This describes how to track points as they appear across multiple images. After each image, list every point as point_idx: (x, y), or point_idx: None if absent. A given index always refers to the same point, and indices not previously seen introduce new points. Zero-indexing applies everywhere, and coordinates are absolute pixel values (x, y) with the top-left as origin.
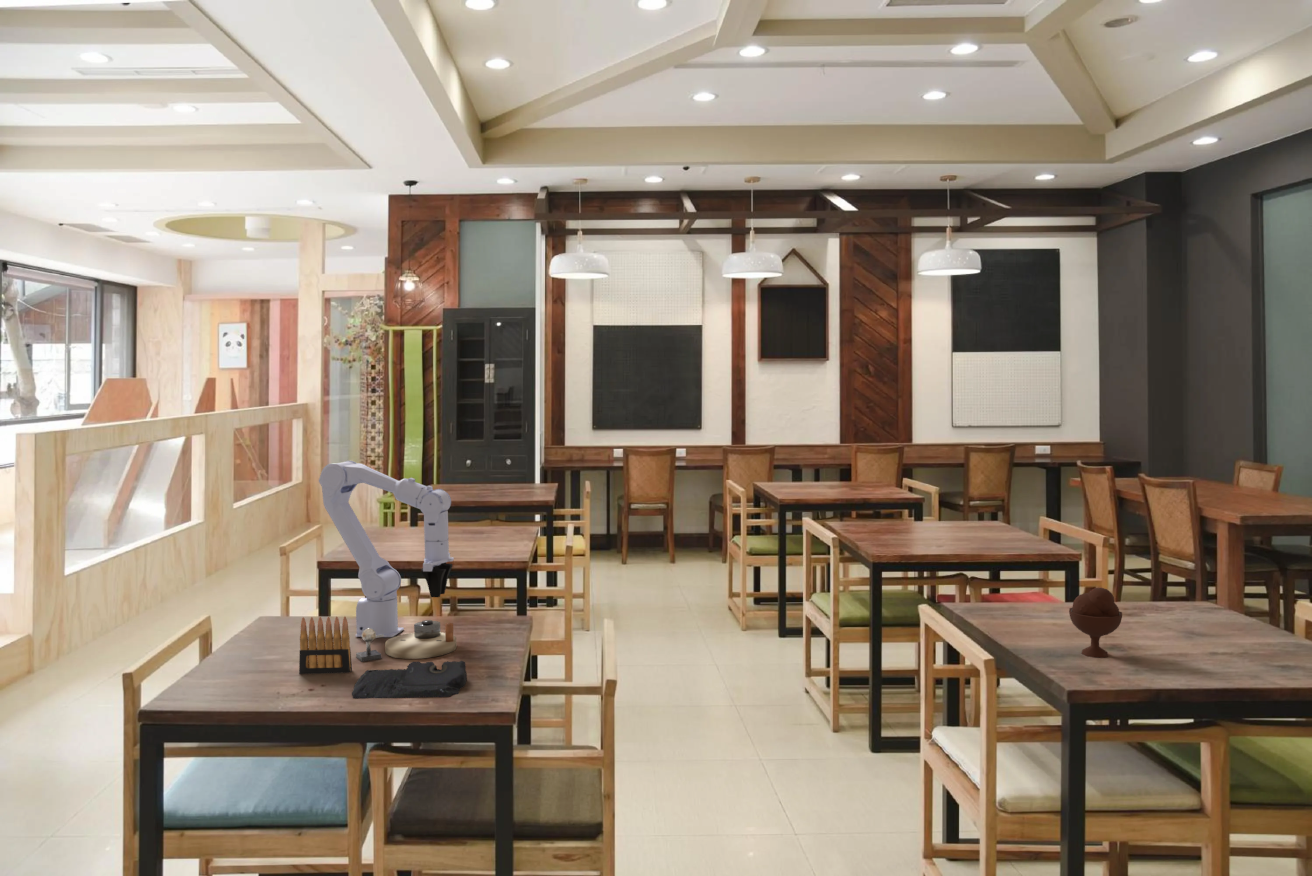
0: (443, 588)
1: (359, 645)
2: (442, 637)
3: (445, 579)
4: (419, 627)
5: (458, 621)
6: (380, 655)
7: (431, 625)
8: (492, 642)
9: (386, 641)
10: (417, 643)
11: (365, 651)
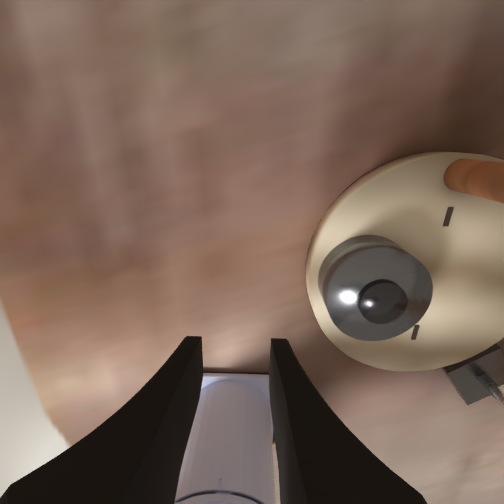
0: (192, 362)
1: (344, 419)
2: (397, 218)
3: (170, 405)
4: (423, 312)
5: (47, 250)
6: (499, 347)
7: (411, 276)
8: (344, 15)
9: (421, 369)
10: (467, 279)
11: (459, 390)
